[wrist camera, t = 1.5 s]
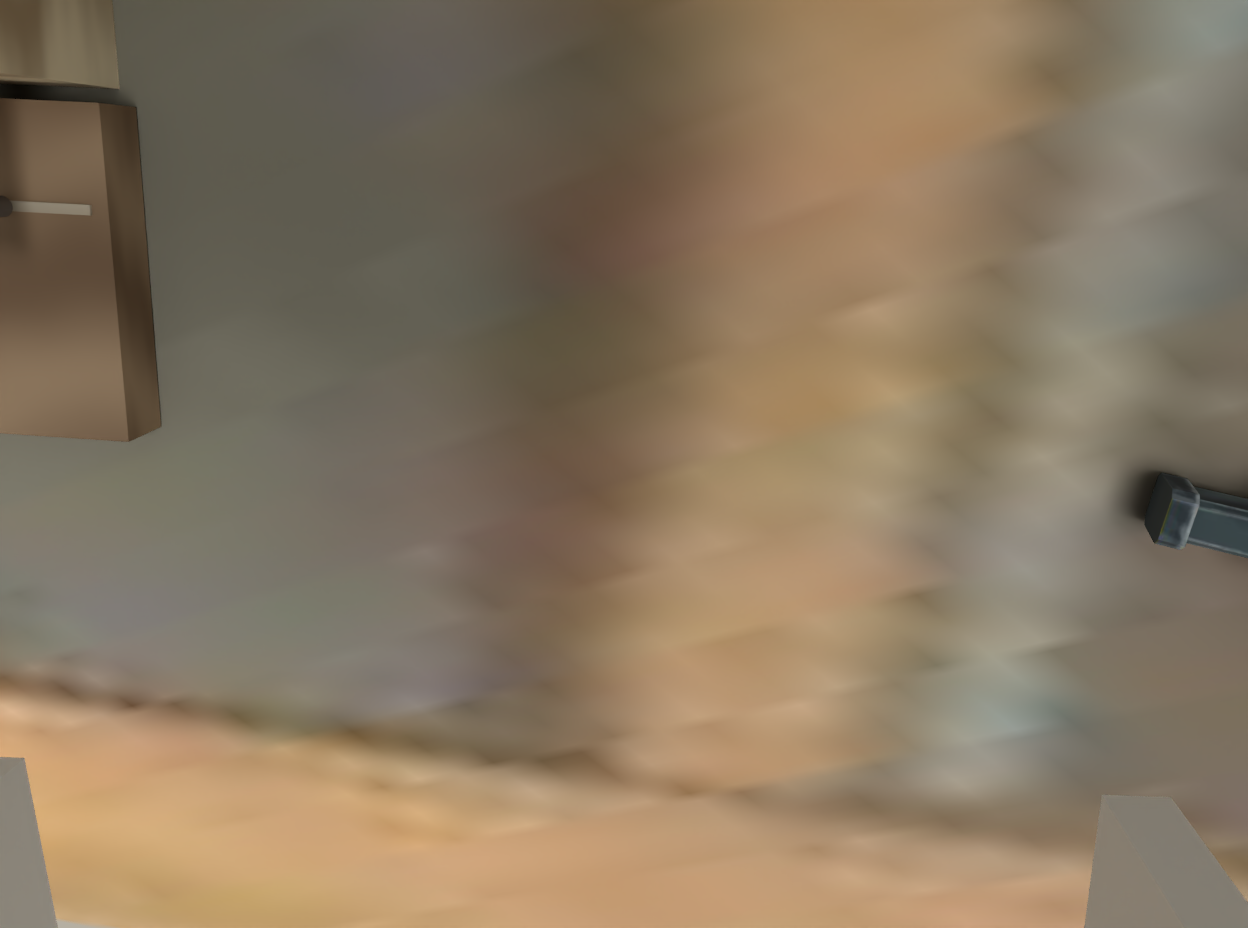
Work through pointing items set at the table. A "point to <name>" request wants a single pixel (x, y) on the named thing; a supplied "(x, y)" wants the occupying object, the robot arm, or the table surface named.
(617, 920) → the table surface
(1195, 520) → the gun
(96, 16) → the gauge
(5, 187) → the board
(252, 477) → the table surface
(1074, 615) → the table surface
